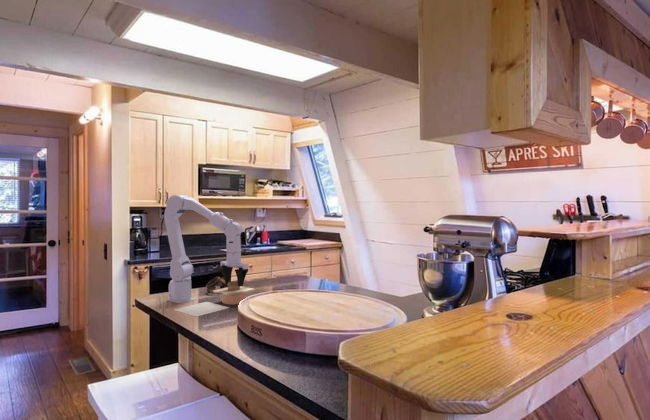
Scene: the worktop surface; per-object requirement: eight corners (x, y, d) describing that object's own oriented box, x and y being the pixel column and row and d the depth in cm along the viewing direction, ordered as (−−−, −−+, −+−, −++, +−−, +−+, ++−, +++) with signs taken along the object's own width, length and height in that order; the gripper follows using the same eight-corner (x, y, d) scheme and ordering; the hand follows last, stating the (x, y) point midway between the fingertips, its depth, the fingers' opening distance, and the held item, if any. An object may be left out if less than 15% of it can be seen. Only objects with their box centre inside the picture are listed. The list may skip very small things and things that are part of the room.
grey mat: (173, 310, 161) (173, 309, 161) (206, 302, 173) (206, 301, 173) (196, 317, 152) (196, 316, 152) (229, 308, 164) (229, 307, 164)
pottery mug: (228, 296, 185) (218, 281, 183) (210, 305, 187) (200, 290, 185) (235, 283, 196) (225, 269, 194) (218, 292, 198) (208, 278, 196)
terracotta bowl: (217, 302, 173) (216, 291, 173) (236, 297, 180) (236, 287, 180) (232, 306, 166) (232, 295, 166) (252, 301, 174) (251, 290, 174)
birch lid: (212, 292, 172) (212, 282, 172) (235, 286, 182) (235, 277, 181) (232, 296, 165) (232, 285, 165) (255, 290, 174) (254, 280, 174)
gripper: (214, 251, 174) (215, 284, 174) (238, 254, 165) (238, 289, 166) (227, 249, 179) (228, 281, 180) (251, 252, 171) (252, 285, 171)
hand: (234, 285), depth 173 cm, fingers open, 7 cm apart
